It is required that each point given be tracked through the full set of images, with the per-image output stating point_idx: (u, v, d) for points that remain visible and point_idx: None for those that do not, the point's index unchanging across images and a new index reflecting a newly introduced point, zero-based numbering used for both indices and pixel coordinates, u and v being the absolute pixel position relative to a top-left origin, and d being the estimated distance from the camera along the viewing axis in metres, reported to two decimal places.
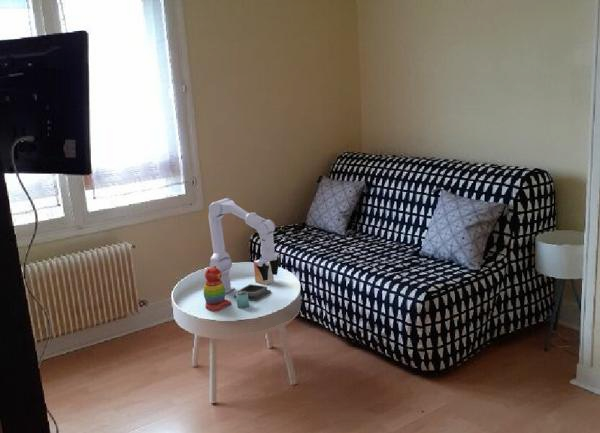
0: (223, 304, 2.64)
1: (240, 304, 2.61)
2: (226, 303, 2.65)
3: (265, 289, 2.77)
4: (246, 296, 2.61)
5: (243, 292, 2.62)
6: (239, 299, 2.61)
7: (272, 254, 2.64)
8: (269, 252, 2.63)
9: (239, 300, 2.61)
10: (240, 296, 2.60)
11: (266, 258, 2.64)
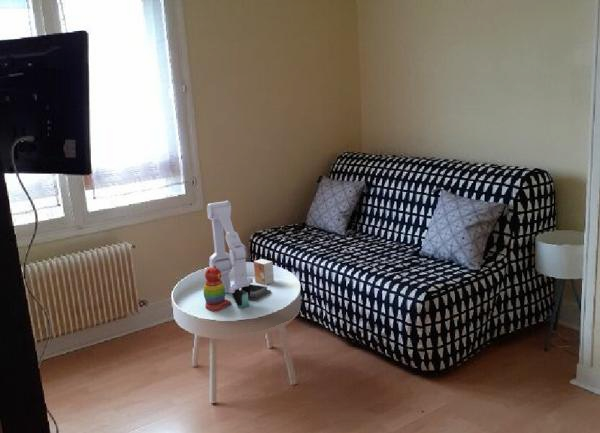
0: (223, 304, 2.64)
1: None
2: (226, 303, 2.65)
3: (265, 289, 2.77)
4: (246, 296, 2.61)
5: (243, 292, 2.62)
6: None
7: (244, 280, 2.59)
8: (242, 278, 2.58)
9: None
10: None
11: (238, 284, 2.59)
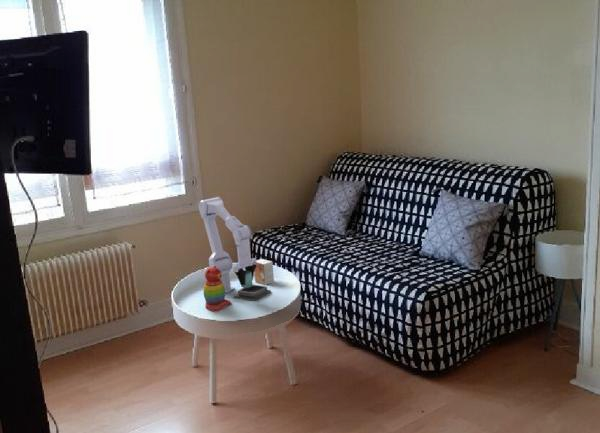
0: (223, 304, 2.64)
1: None
2: (226, 303, 2.65)
3: (265, 289, 2.77)
4: (250, 276, 2.66)
5: (247, 272, 2.67)
6: None
7: (248, 260, 2.64)
8: (245, 258, 2.63)
9: None
10: None
11: (242, 264, 2.64)
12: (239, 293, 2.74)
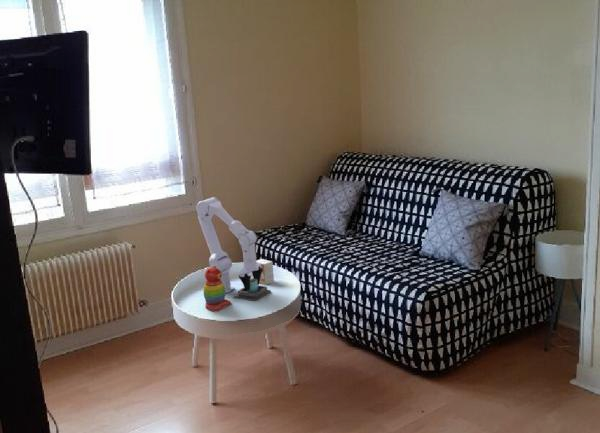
0: (223, 304, 2.64)
1: (250, 291, 2.74)
2: (226, 303, 2.65)
3: (265, 289, 2.77)
4: (256, 283, 2.74)
5: (253, 279, 2.75)
6: None
7: (254, 265, 2.71)
8: (251, 263, 2.70)
9: None
10: (250, 283, 2.73)
11: (248, 268, 2.71)
12: (239, 293, 2.74)
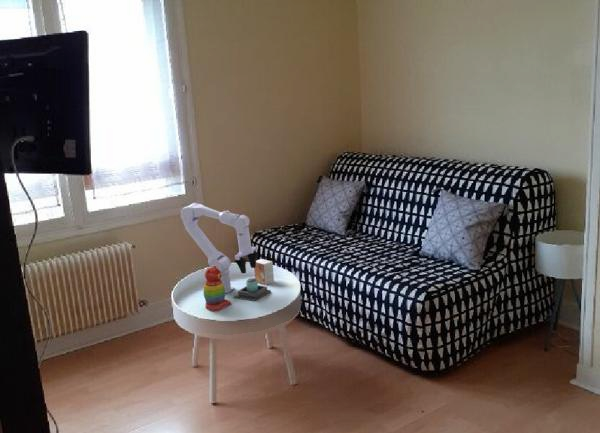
0: (223, 304, 2.64)
1: (250, 291, 2.74)
2: (226, 303, 2.65)
3: (265, 289, 2.77)
4: (256, 283, 2.74)
5: (253, 279, 2.75)
6: (249, 286, 2.73)
7: (249, 248, 2.75)
8: (246, 246, 2.74)
9: (249, 287, 2.73)
10: (250, 283, 2.73)
11: (243, 252, 2.74)
12: (239, 293, 2.74)
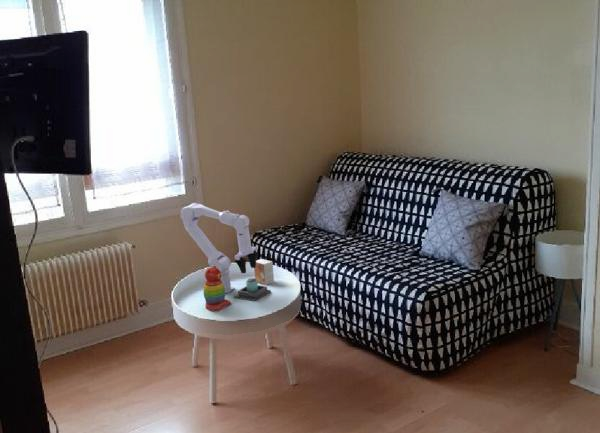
0: (223, 304, 2.64)
1: (250, 291, 2.74)
2: (226, 303, 2.65)
3: (265, 289, 2.77)
4: (255, 283, 2.74)
5: (253, 279, 2.75)
6: (249, 286, 2.73)
7: (249, 248, 2.75)
8: (246, 246, 2.74)
9: (249, 287, 2.73)
10: (250, 283, 2.73)
11: (243, 252, 2.74)
12: (239, 293, 2.74)
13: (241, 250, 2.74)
